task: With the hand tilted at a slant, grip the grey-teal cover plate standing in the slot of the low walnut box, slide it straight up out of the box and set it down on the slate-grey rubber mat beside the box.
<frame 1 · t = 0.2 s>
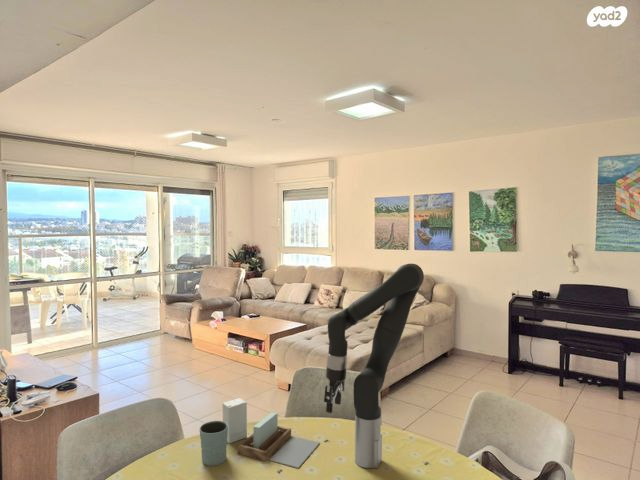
hand: (333, 407, 155), 17 cm above the table, tool pointing down, fingers open, 8 cm apart
grey-green cup: (213, 459, 151), on the table
walnut box: (265, 444, 161), on the table
cover plate: (265, 432, 161), in the walnut box
skincare box: (234, 438, 166), on the table
grey mat: (295, 451, 156), on the table
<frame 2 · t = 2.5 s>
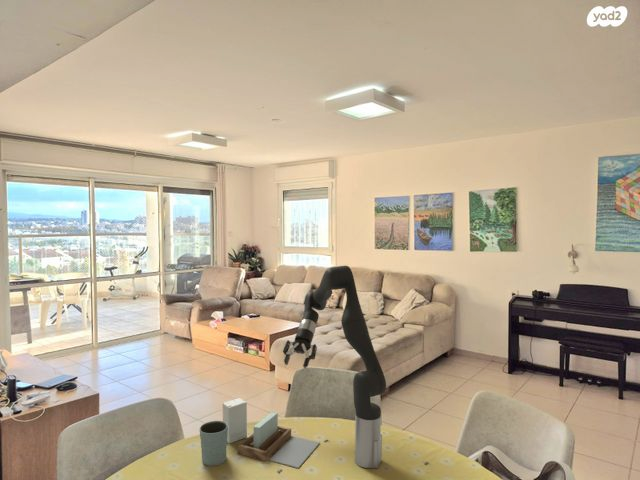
hand: (295, 365, 174), 27 cm above the table, tool tilted 40°, fingers open, 8 cm apart
nothing on the table moved.
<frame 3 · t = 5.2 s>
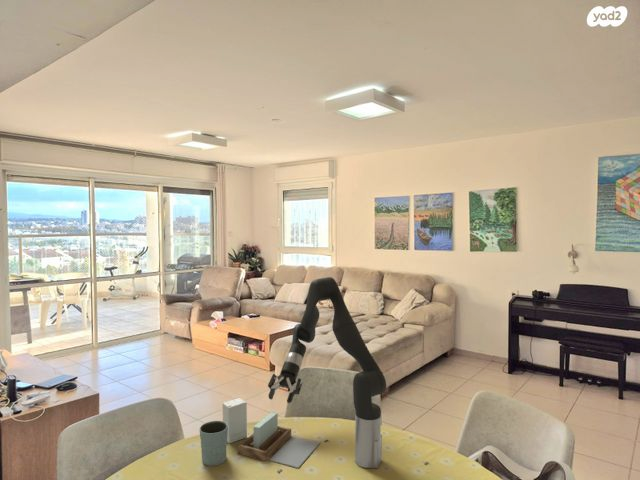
hand: (279, 400, 171), 13 cm above the table, tool tilted 45°, fingers open, 8 cm apart
nothing on the table moved.
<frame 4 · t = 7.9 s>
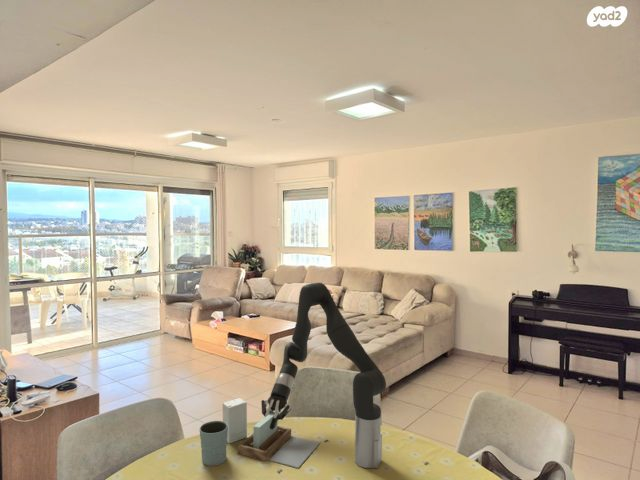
hand: (267, 427, 163), 6 cm above the table, tool tilted 45°, fingers closed on cover plate, 2 cm apart
cover plate: (265, 431, 161), in the walnut box, touching gripper
everything else where it was.
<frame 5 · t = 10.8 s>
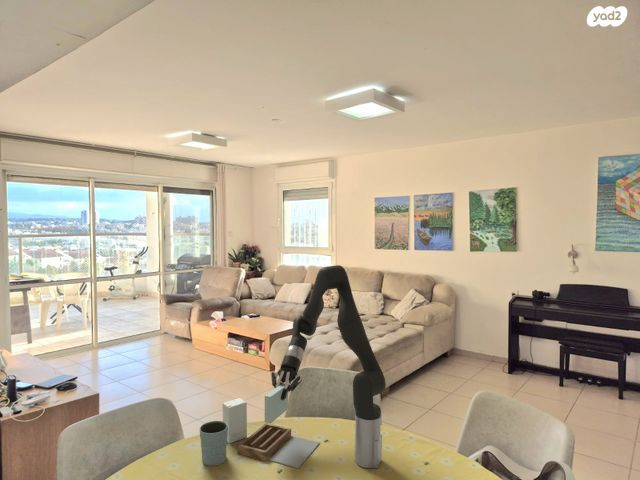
hand: (278, 398, 160), 18 cm above the table, tool tilted 45°, fingers closed on cover plate, 2 cm apart
cover plate: (276, 402, 159), point 18 cm above the table, touching gripper
everything else where it was.
when the fingers open (7 cm above the table, at t = 13.9 s): cover plate stays where it is, resting on grey mat.
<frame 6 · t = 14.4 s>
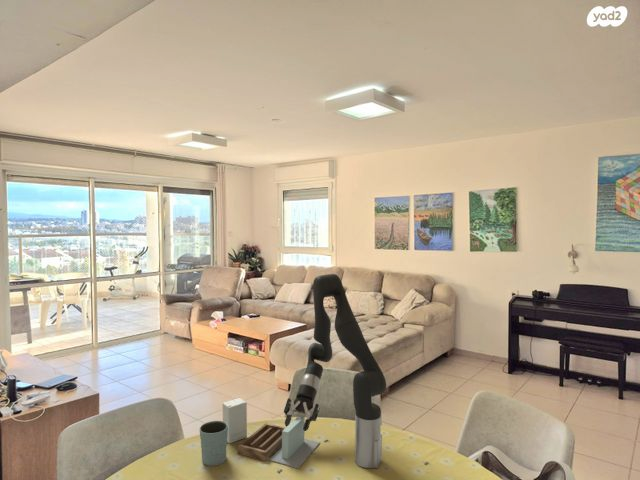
hand: (295, 428, 158), 8 cm above the table, tool tilted 45°, fingers open, 7 cm apart
cover plate: (293, 436, 157), on the grey mat
everything else where it was.
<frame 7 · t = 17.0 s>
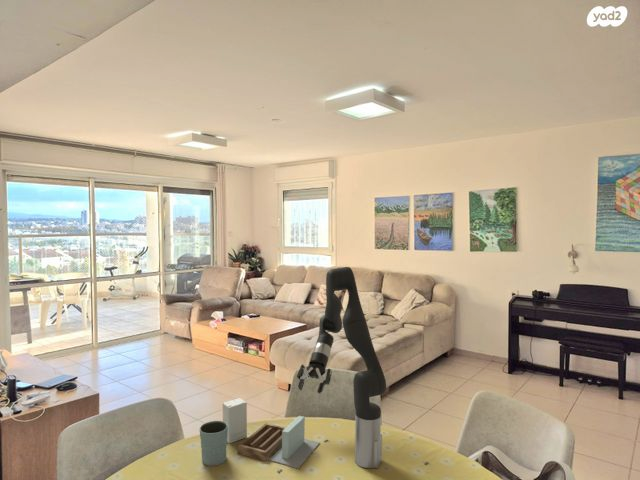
hand: (309, 391, 169), 18 cm above the table, tool tilted 45°, fingers open, 8 cm apart
nothing on the table moved.
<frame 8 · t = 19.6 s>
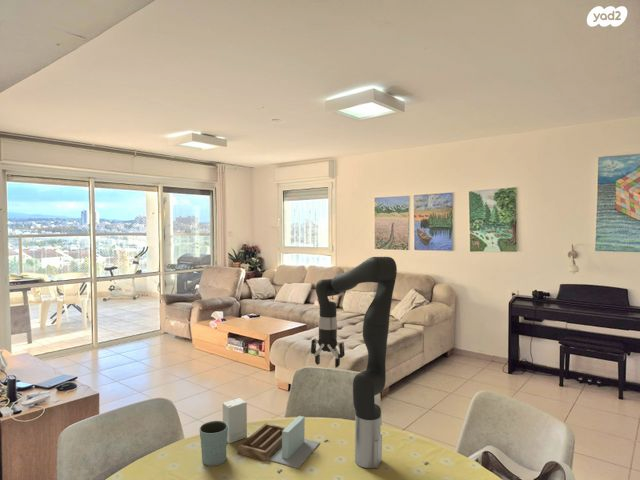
hand: (327, 365, 171), 28 cm above the table, tool pointing down, fingers open, 8 cm apart
nothing on the table moved.
at the end: cover plate inside the target area (0.4 cm from its centre), resting on grey mat; cover plate touching grey mat; the gripper is holding nothing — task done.
